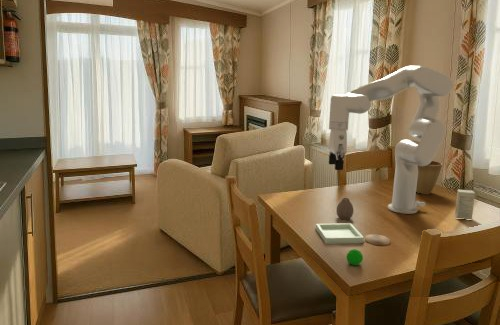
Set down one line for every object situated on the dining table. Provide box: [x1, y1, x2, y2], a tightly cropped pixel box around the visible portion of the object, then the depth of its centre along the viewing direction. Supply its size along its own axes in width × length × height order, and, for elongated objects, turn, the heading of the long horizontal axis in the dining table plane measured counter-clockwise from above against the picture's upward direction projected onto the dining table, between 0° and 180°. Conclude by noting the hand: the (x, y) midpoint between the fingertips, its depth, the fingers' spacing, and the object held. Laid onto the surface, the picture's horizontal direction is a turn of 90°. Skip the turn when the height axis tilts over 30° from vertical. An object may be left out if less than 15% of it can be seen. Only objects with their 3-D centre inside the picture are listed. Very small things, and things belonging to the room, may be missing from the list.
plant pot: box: [416, 160, 443, 195], centre depth 211 cm, size 15×15×16 cm
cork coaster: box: [364, 233, 391, 247], centre depth 151 cm, size 9×9×1 cm
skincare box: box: [454, 189, 476, 220], centre depth 174 cm, size 6×4×12 cm
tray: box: [315, 222, 365, 245], centre depth 154 cm, size 14×14×2 cm
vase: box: [336, 197, 355, 221], centre depth 172 cm, size 7×7×9 cm
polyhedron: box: [346, 248, 364, 266], centre depth 131 cm, size 5×5×5 cm
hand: (335, 166), depth 170 cm, fingers open, 9 cm apart
